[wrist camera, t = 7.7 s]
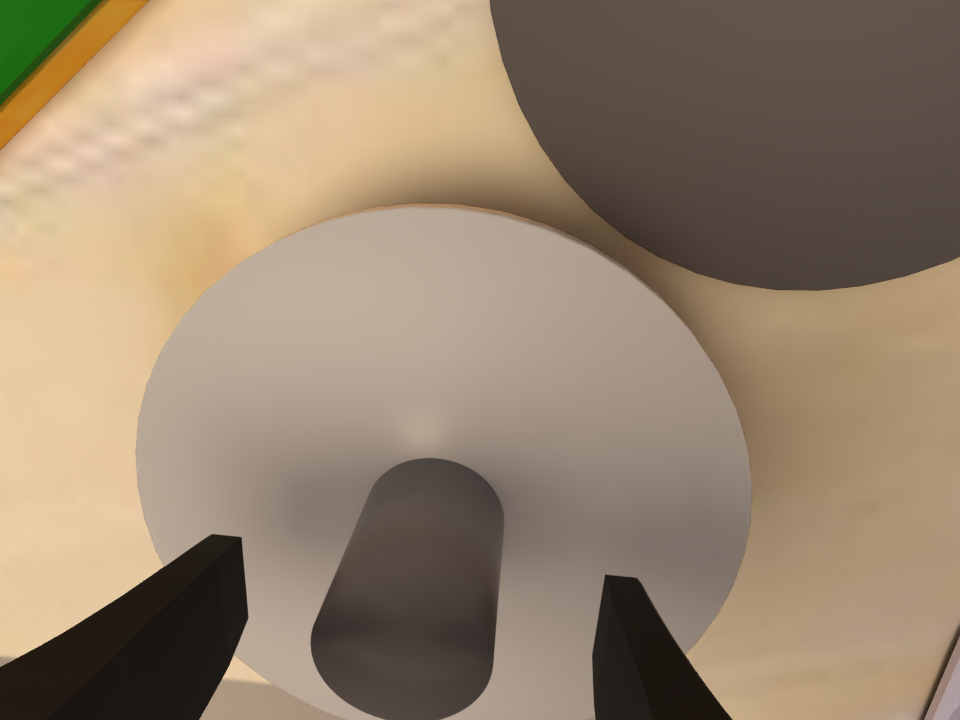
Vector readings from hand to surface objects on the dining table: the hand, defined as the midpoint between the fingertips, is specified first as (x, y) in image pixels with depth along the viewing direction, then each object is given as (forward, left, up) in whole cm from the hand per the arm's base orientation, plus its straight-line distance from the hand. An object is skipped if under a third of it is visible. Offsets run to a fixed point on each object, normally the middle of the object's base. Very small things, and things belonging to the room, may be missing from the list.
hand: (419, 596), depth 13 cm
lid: (0, 0, -3) cm, 3 cm away
